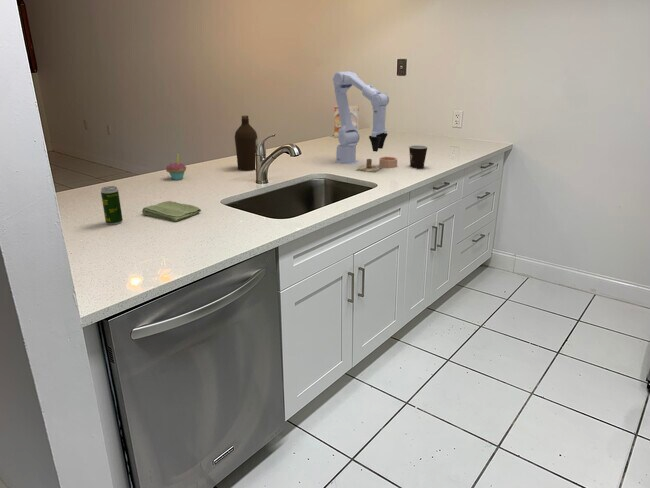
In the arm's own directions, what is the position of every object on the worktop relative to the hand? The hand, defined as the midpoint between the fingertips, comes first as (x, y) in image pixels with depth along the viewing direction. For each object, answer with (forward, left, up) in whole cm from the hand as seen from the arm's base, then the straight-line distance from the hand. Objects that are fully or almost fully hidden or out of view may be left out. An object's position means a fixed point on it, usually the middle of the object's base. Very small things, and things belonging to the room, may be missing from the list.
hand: (377, 149), depth 241 cm
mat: (-3, -3, -10) cm, 10 cm away
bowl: (+3, +8, -10) cm, 13 cm away
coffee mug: (+16, +14, -10) cm, 23 cm away
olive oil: (-57, -25, -10) cm, 63 cm away
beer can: (-54, -112, -10) cm, 125 cm away
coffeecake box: (-49, +80, -10) cm, 95 cm away
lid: (-3, -3, -9) cm, 10 cm away
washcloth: (-43, -96, -10) cm, 106 cm away
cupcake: (-75, -55, -10) cm, 94 cm away
